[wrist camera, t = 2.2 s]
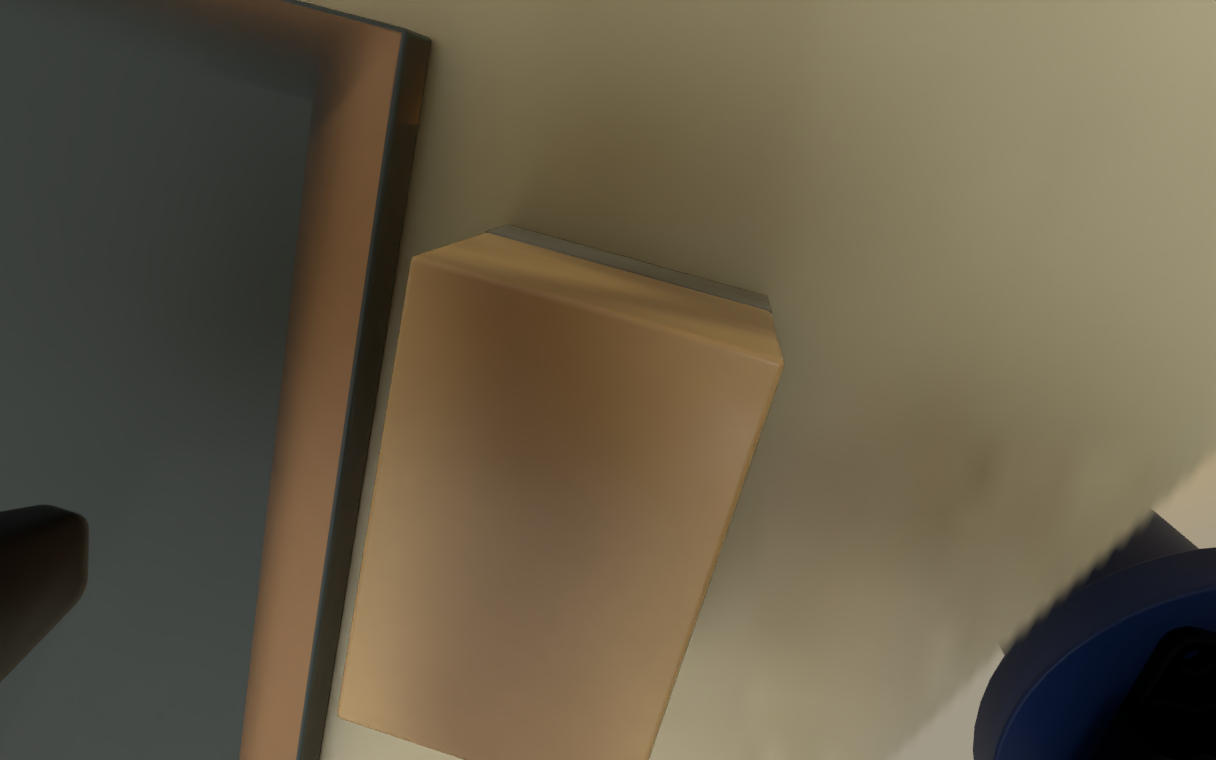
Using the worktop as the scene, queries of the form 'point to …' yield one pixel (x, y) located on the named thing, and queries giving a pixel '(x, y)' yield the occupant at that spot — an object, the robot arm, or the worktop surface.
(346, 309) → the chalkboard
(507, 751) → the wooden block
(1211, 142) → the worktop surface
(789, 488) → the worktop surface
